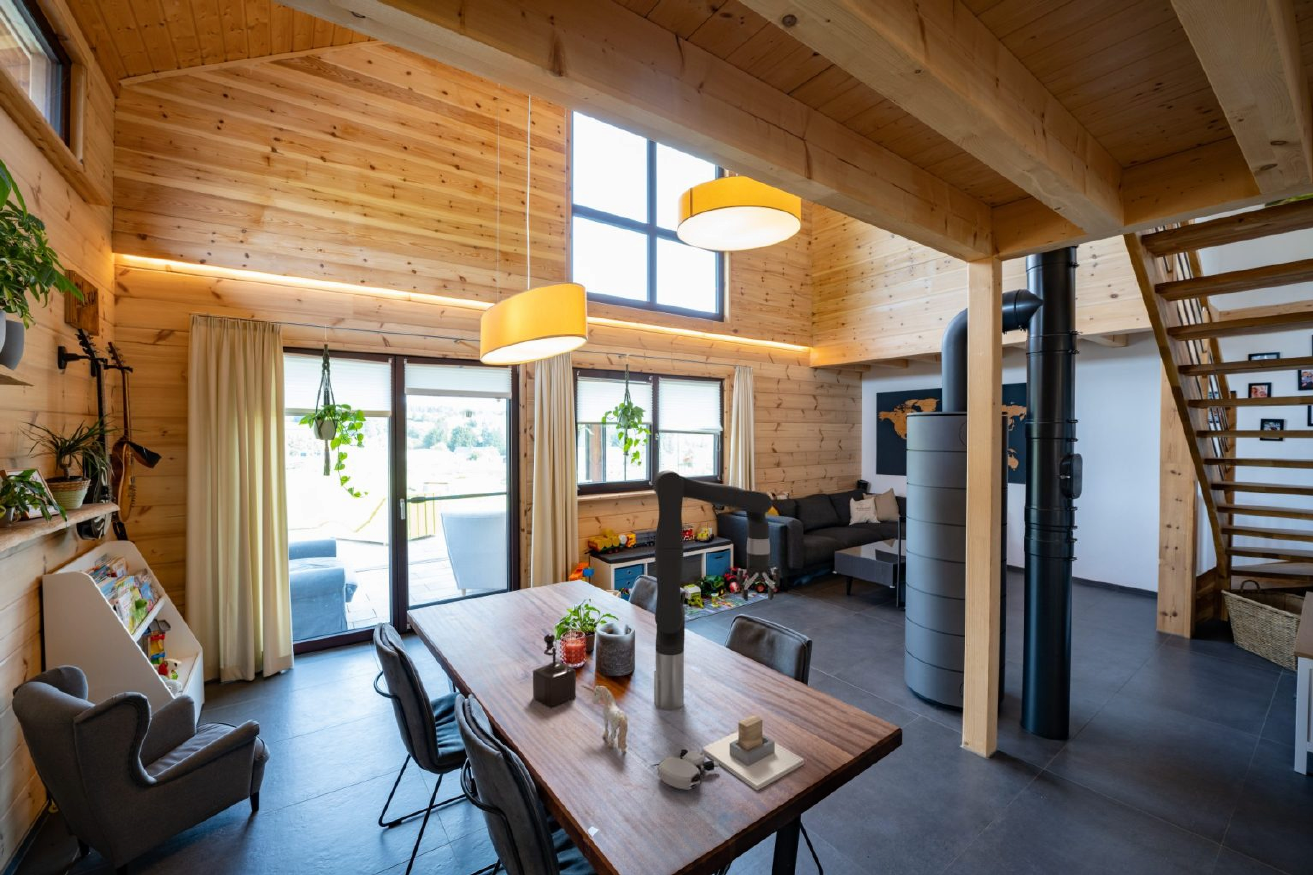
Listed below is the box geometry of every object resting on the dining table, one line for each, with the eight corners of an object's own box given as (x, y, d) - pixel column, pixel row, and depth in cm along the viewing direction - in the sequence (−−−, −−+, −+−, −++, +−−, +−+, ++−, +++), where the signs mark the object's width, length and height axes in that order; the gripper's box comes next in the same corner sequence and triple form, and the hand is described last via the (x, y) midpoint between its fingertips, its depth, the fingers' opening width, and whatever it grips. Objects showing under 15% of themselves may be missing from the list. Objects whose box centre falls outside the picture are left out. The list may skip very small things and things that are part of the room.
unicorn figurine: (599, 721, 163) (600, 677, 163) (642, 749, 149) (642, 700, 149) (580, 730, 158) (580, 684, 158) (622, 759, 144) (622, 709, 144)
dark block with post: (578, 697, 178) (578, 642, 178) (550, 709, 170) (550, 652, 170) (550, 682, 189) (551, 631, 189) (523, 693, 181) (523, 639, 181)
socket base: (757, 790, 131) (757, 773, 131) (702, 752, 147) (702, 736, 147) (803, 763, 142) (803, 748, 142) (748, 730, 158) (748, 716, 158)
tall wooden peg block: (738, 755, 144) (738, 721, 144) (753, 747, 147) (754, 714, 147) (746, 760, 141) (746, 726, 141) (762, 753, 145) (762, 719, 145)
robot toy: (682, 758, 146) (648, 781, 134) (683, 741, 147) (649, 763, 135) (721, 775, 139) (689, 802, 127) (722, 757, 139) (690, 782, 127)
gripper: (741, 554, 175) (741, 604, 175) (783, 552, 177) (782, 602, 177) (734, 549, 182) (734, 597, 182) (774, 548, 185) (773, 595, 185)
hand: (758, 599), depth 180 cm, fingers open, 8 cm apart
